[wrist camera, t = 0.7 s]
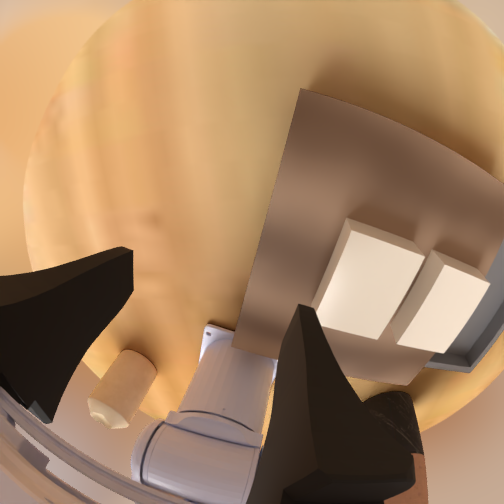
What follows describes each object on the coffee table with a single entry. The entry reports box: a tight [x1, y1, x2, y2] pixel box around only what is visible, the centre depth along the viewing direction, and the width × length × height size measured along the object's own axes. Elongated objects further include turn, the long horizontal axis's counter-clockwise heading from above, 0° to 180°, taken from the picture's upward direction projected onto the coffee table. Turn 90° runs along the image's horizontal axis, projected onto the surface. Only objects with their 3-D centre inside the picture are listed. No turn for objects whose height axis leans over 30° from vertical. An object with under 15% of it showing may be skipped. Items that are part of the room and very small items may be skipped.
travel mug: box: [363, 391, 428, 504], centre depth 18 cm, size 8×8×20 cm
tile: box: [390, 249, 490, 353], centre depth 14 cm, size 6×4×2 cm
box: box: [424, 239, 504, 373], centre depth 17 cm, size 16×9×2 cm, turn 167°
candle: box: [88, 350, 157, 429], centre depth 26 cm, size 6×6×10 cm
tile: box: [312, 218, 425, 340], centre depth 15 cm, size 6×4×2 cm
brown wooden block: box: [231, 88, 504, 386], centre depth 17 cm, size 18×16×4 cm
